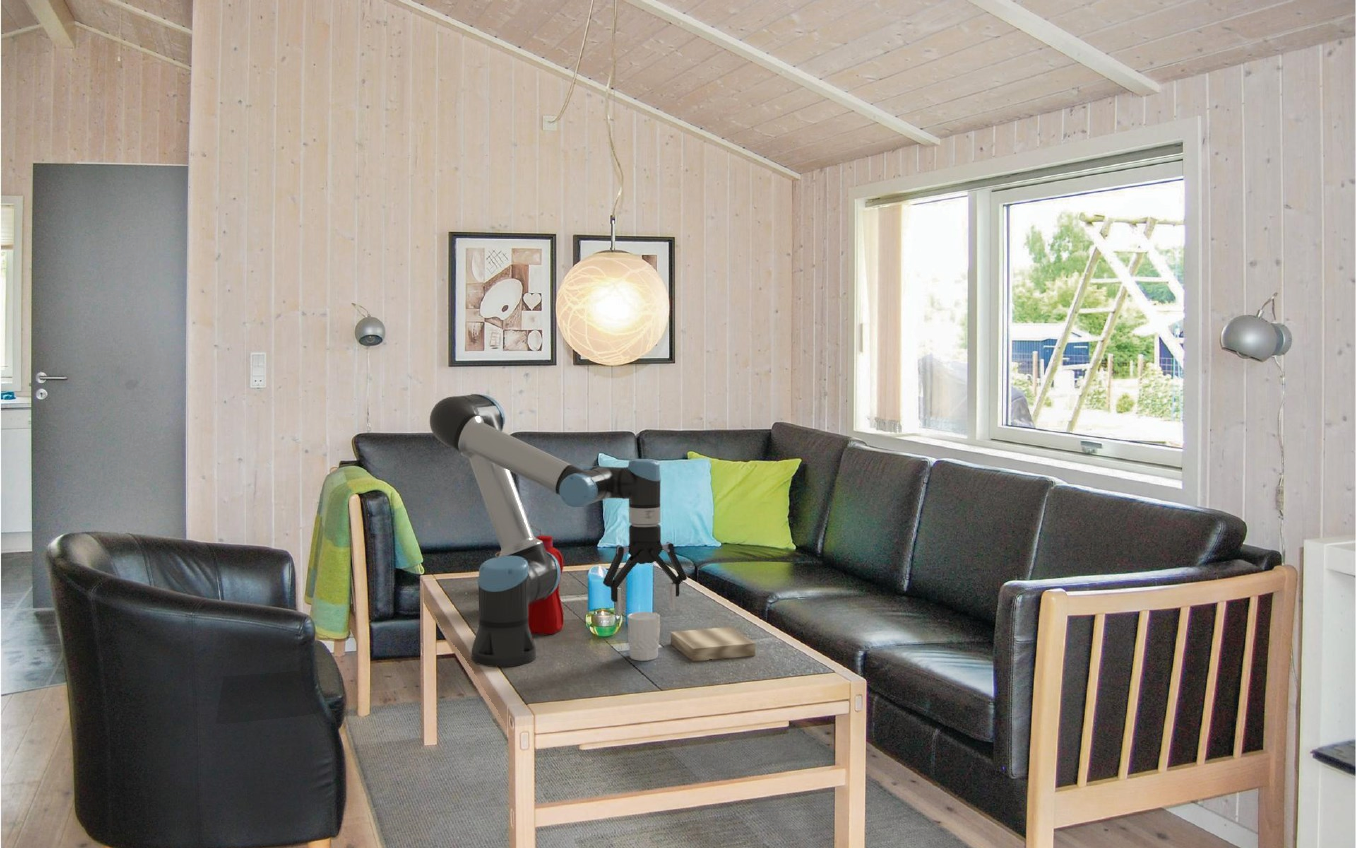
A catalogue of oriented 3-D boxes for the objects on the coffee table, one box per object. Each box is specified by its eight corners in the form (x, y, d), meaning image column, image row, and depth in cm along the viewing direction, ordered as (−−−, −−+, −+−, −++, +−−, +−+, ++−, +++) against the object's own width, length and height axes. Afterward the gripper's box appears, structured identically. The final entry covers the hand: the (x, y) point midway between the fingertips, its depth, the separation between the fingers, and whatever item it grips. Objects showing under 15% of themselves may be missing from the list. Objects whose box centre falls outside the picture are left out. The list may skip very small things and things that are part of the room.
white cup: (646, 663, 261) (646, 621, 260) (620, 657, 265) (620, 616, 265) (666, 656, 267) (667, 615, 266) (641, 650, 272) (641, 610, 271)
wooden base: (693, 661, 263) (693, 648, 263) (670, 643, 278) (670, 631, 278) (755, 655, 268) (755, 643, 268) (730, 638, 283) (730, 626, 283)
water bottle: (569, 626, 294) (569, 532, 292) (553, 637, 283) (553, 539, 281) (537, 623, 296) (537, 530, 294) (520, 634, 285) (520, 537, 284)
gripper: (598, 530, 256) (599, 620, 257) (699, 523, 264) (700, 611, 266) (589, 525, 263) (590, 613, 264) (688, 519, 271) (689, 604, 273)
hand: (645, 612), depth 265 cm, fingers open, 13 cm apart
